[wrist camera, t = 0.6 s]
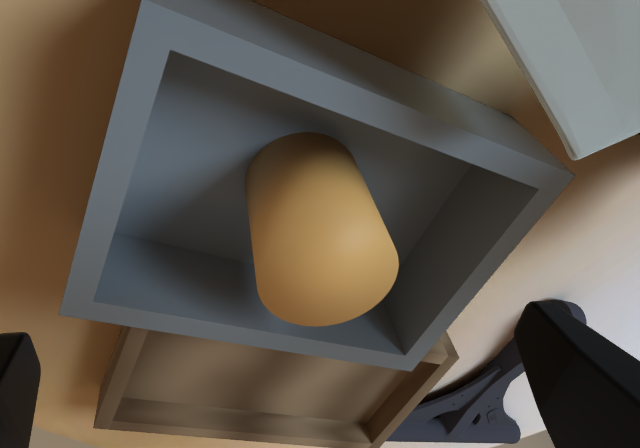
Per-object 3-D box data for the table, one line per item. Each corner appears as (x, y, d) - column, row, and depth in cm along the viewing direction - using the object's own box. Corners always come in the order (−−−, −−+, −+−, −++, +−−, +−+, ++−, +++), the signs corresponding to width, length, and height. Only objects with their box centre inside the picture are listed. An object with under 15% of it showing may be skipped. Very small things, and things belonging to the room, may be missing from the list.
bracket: (631, 307, 35) (661, 339, 33) (501, 429, 43) (519, 461, 40) (476, 272, 29) (500, 308, 27) (355, 421, 36) (367, 459, 34)
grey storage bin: (512, 117, 23) (575, 175, 19) (383, 298, 29) (411, 371, 25) (155, -42, 17) (141, -2, 13) (82, 231, 23) (58, 314, 19)
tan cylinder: (378, 153, 22) (425, 240, 17) (328, 239, 25) (357, 335, 20) (271, 115, 20) (292, 202, 16) (228, 213, 23) (235, 313, 18)
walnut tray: (443, 325, 32) (459, 357, 30) (366, 418, 36) (376, 451, 35) (145, 262, 24) (140, 300, 23) (100, 388, 29) (93, 428, 27)
